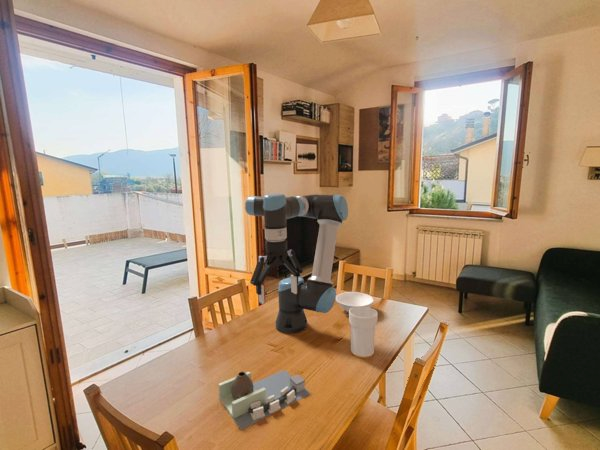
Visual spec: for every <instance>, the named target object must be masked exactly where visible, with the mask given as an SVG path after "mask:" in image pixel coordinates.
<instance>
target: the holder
mask: <svg viewBox="0 0 600 450" xmlns="http://www.w3.org/2000/svg"><path fill="white" fill-rule="evenodd" d="M245 373H246V375H247V376H248V377H250V379H251V380H252V377H251V376H252V375H251V372H250V371H246V372H245ZM236 377H237V376H234V377H232V378H229V379H227V380H225V381H222V382H220V383H218V399H219V398H220V399H219V400H221V401H222V402H221V401H220V402H221V403H223V404H224V405H223V404H222V405H223V406H224V408H225V407H226V408H225V409H226V411H227V410H228V411H229V412H228V411H227V412H228V413H230V414H231V415H230V414H229V415H230V417H231V418H232V417H233V418H232V419H233V421H234V420H235V419H237V418H239V417H241V416H243V415H245V414H247V413H249V408H250V404H251V403H254V402H257V401H260V402H261V406H263V405H265V399H266V389H265V388H261V389H259V390H257V391H256V390H255V389H254V390H253V393H250V394H248V395H246V396H244V397H242V398H239V399H237V400H234V399H233V397H232V393H231V387H232V383H233V381H234V379H235V378H236Z"/></svg>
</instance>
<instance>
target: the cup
mask: <svg viewBox="0 0 600 450" xmlns="http://www.w3.org/2000/svg"><path fill="white" fill-rule="evenodd" d="M378 316H379V313H378V311H377V310H376V308H373V307H371V306H370V307H366V306H356V307H353V308H351V309H350V310H349V312H348V322H349V324H350V353H351V355H353V356H354V358H355V357H356V358H358V359H363V358H364V359H365V358H366V359H370V358H372V357H373V356H374V353H375V352H374V351H375V349H374V348H375V333H376V326H377V325H378ZM366 359H365V360H366Z"/></svg>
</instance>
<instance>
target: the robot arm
mask: <svg viewBox="0 0 600 450" xmlns="http://www.w3.org/2000/svg"><path fill="white" fill-rule="evenodd" d="M244 210H245V212H246V213H247V215H249V216H253V217H263V218H264V219H263V220H264V221H263V222H264V239H265V242H264V243H265V245H264V246H265V247H264V248H265V253H266V254H265V255H258V256H257V263H256V265H255V268H254V269H253V270H254V271H253V273H252V276H251V279H250V281H249V282H250V284H251V285H252V286H255V293H256V295H257V296H258V302H259V303H260V304H261V305H265V302H266V301H265V285H263V283H264V281H265V280H266V278H267V277H268V274H269V273H270V271H271V270H273V268H276V267H278V266H285V267H286V269H288V270H289V272H291V274H290V277H286V278H284V279H281V280H280V281H279V282H278V290H277V293H278V311H277V316H276V320H275V329H276V330H277V331H279V332H281V333H284V334H297V333H301V332H304V331H306V329H307V328H308V319H307V316H306V313H305V310H306V311H307V310H308V311H312V312H316V313H323V314H327V313H328V312H330V311H331V310H332V308H333V307H334V304H335V302H336V296H337V289H336V288H335V287H333V286H334V282H333V281H332V280H331V277H332V270H333V264H334V258H335V251H336V249H335V248H336V245H337V244H336V242H337V235H338V230H339V227H341V226H343V221H344V222H345V221H346V220H347V218H348V217H349V205H348V202H347V199H346V198H345V196H344V195H339V194H308V195H297V196H295V195H294V196H293V195H292V196H291V195H290V196H288V197H286V195H285V194H283V193H271V194H270V193H269V194H265V195H264V196H257V195H255V196H249V197H247V198H246V200H245V202H244ZM296 217H303V218H304V217H305V218H310V219H317V221H316V222H317V223H318V224H319V228H318V235H317V241H316V247H315V254H314V259H313V264H312V271H311V276H309V277H308V278H307V281H306V282H305V281H304V278H303V277H300V276H301V274H303V273H304V272H303V271H304V270H303V268H302V267H301V264H300V262H299V260H298V259H297V257H296V251H295V250H294V249H289V248H288V239H287V238H288V236H287V235H288V232H287V226H288V225H287V220H289V219H293V218H296ZM288 257H289V259H290V261H291V263H292V264H291V263H290V261H288V260H287V258H288ZM293 266H294V267H293Z"/></svg>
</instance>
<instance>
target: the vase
mask: <svg viewBox="0 0 600 450" xmlns="http://www.w3.org/2000/svg"><path fill="white" fill-rule="evenodd" d="M235 377H236V376H235ZM253 383H254V382H253V380H252V378H251V379H250V377H248V376H247V375H246V372H245V371H240V372H238V374H237V377H236V378H235V379H234V381H233V383H232V387H231V393H232V397H233V399H234V400H237V399H239V398H242V397H244V396H246V395H248V394H250V393H253V390H254V387H253Z"/></svg>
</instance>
